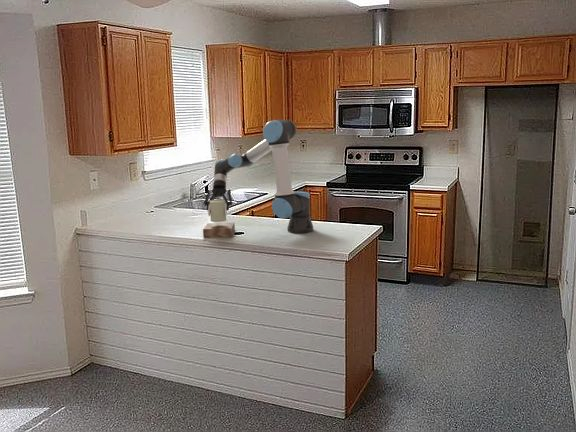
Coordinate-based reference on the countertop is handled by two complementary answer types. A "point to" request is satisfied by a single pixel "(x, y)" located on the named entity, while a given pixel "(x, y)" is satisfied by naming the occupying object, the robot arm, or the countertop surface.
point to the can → (217, 210)
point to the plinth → (218, 230)
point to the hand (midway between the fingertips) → (217, 214)
